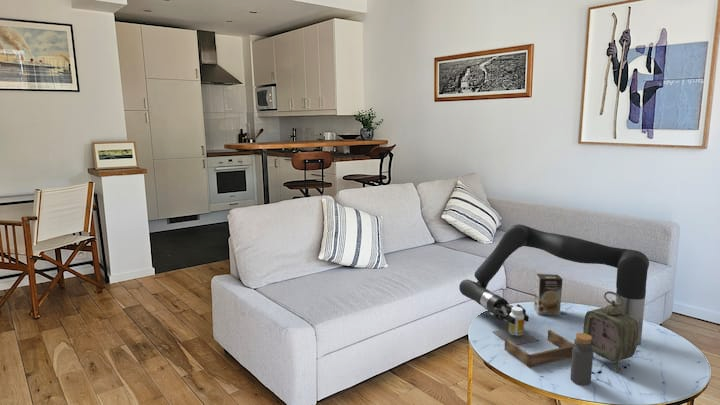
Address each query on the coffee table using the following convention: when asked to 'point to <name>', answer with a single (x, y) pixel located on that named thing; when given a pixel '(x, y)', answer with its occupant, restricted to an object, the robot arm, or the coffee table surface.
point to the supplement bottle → (517, 321)
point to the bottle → (582, 359)
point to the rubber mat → (515, 337)
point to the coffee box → (548, 294)
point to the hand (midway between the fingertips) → (521, 320)
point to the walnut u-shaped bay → (545, 356)
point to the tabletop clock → (611, 332)
